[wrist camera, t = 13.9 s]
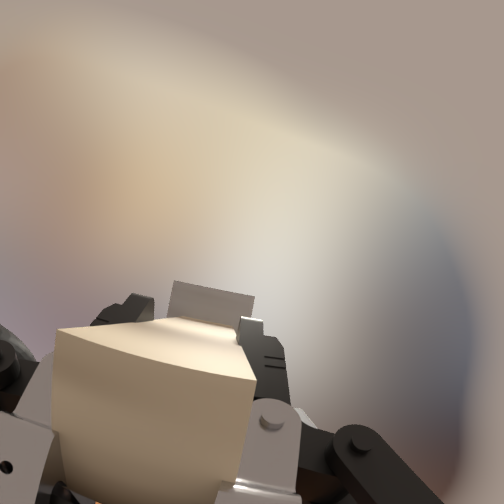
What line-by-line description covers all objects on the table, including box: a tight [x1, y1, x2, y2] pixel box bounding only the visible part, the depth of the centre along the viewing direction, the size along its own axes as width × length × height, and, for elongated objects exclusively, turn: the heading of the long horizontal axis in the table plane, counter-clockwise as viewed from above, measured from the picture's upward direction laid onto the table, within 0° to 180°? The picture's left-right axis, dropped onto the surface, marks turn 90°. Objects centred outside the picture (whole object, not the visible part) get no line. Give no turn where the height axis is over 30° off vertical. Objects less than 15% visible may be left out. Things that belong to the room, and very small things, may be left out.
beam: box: [51, 281, 257, 504], centre depth 13 cm, size 20×5×5 cm, turn 6°
